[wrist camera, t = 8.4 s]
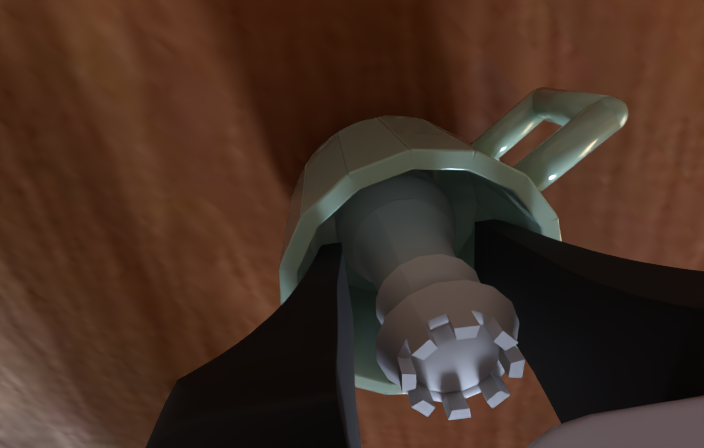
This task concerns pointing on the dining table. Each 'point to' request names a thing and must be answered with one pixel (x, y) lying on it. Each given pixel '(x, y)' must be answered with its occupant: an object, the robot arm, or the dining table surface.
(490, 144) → the pale green mug
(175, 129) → the dining table surface
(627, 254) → the dining table surface
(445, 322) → the rook chess piece
